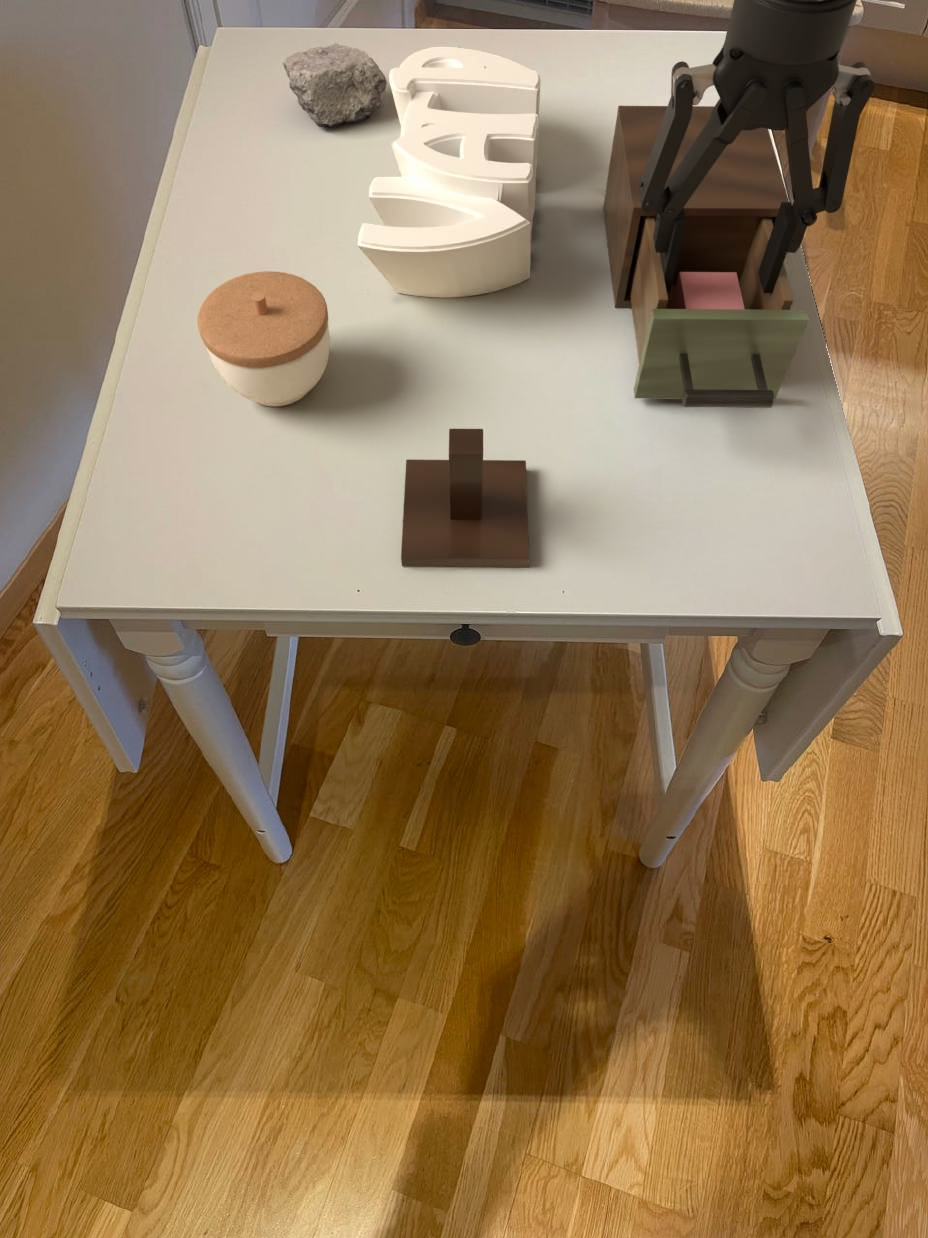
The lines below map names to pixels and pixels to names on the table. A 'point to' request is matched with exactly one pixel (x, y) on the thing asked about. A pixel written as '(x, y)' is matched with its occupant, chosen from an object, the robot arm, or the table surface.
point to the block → (707, 291)
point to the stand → (465, 508)
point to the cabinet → (729, 189)
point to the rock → (336, 83)
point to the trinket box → (267, 336)
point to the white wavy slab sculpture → (458, 176)
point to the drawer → (713, 319)
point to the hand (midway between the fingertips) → (714, 282)
